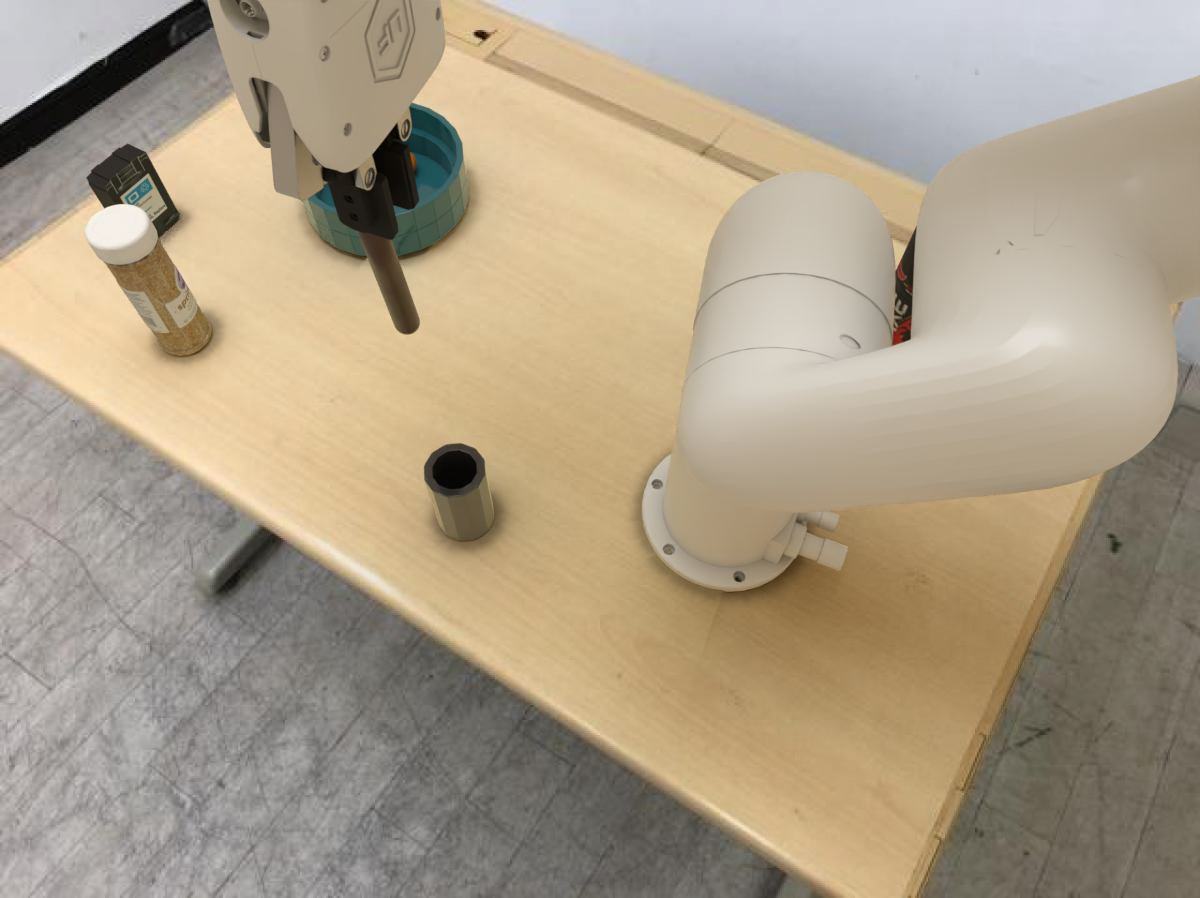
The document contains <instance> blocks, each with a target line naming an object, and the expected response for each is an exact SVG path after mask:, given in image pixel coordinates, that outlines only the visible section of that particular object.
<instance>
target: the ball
mask: <svg viewBox="0 0 1200 898" xmlns="http://www.w3.org/2000/svg"><path fill="white" fill-rule="evenodd" d="M410 155H411V160H412V165H413V170H414V171H415V170H416V167H417V161H416V158H415V156H414V155H413V154H412V153H411V152H410Z"/></svg>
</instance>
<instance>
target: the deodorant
mask: <svg viewBox="0 0 1200 898" xmlns="http://www.w3.org/2000/svg"><path fill="white" fill-rule="evenodd" d="M916 229H917V225H916V226H915V228H914V230H913V232H912V235H911V237H910V238H909V241H908V243H907V245H906V247H905V249H904V251H903V254H902V256H901V258H900V261H899V263H898V265H897V266H896V268H895V278H896V284H895V305H894V322H893V344H892V346H894V345H897V344H900V343H903V342H906V341H908V340H911V324H912V302H913V278H914V255H915V239H916Z"/></svg>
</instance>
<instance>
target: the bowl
mask: <svg viewBox="0 0 1200 898" xmlns="http://www.w3.org/2000/svg"><path fill="white" fill-rule="evenodd" d="M409 109H410V115H411V121H412V129H411V133H410V136H409V138H408V139H407V140H406V141H403V144H406V145H409V150H410V152H411V153H412V154H413V155H414V156H415V158H416V161H417V167H416V170H415V171H414V175H415V180H416V185H417V190H418V195H419V202H418V204H417V205H416V207H415V208H414V209H410V210H407V209H403V208H400V207H397V206H394V205H393V206H394V211H395V215H396V219H397V224H398V230H399V231H398V233H397V235H396V236H395V238H394V239H393V240H392V242H393V245H394V248H395V251H396V254H397V256H398V257H400V256H404V255H407V254H412V253H415V252H418V251H421V250H423V249H426V248H427V247H430V246H432V245H433V244H435V243H438V242H439V241H440V240H442V239H443V238H444V237H446V236H447V235H448V234H449V233H451V231H453V230H454V229H455V228H456V226H457V225H458V223H459V222H460V221H461V219H462V218H463V216H464V214H465V213H466V211H467V210H466V209H467V206H468V203H469V199H470V193H469V192H470V190H469V179H468V173H467V166H466V159H465V152H464V145H463V141H462V139H461V137H460V134H459V133H458V130H457V129H456V128H455V126H454V125H452V123H450V121H449V120H448V119H447V118H446V117H445V116H444V115H442V114H440V113H438V112H437V111H435V110H433V109H432V108H430V107H427V106H424V105H422V104H417V103H415V102H412V103H411V104H410V106H409ZM302 204H303V207H304V209H305V212H306V215H307V218H308V220H309V223H310V225H311V227H312V228H313V229H314V231H315V232H316V233H317V234H318V236H319V237H320V238H321V239H322V240H324V241H325V242H327V243H328V244H330V245H331V246H333V247H334V248H335V249H337V250H340V251H344V252H347V253H349V254H353V255H356V256H359V257H360V256H361V257H367V255H366V253H365V250H364V248H363V245H362V243H361V240H360V238H359V235H358V233H357V231H356V230H353V229H351V228H350V227H348V226H346V225H344V224H343V223H341V221H340V220H339V217H338V214H337V211H336V208H335V204H334V201H333V198H332V195H331V192H330V188H329V185H328V183H327V184H325V185H324V188H323V189H322V190H320V191H319V192H317V193H315V194H314V195H312V196H311V197H309V198H308V199H306V200H304V201H302Z"/></svg>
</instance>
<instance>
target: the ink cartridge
mask: <svg viewBox="0 0 1200 898" xmlns="http://www.w3.org/2000/svg"><path fill="white" fill-rule="evenodd" d="M85 179H86V180H87V182H88V185H89V187H90V189H91V191H92V192H93V193H94V195H95V196H96V198H97V199H98V201H99V202H100V204H101V206H102V208H103V209H104V208H106V207H109V206H113V205H118V204H129V205H134V206H137V207H139V208H141V209H142V210H143V211H145V212H146V214H147V215H148V217H149V218H150V220H151V221H152V223H153V225H154V227H155V228H156V230H157V234H158V239H160V237H161V236H162V235H163V234H164V233H166V232H167V231H168V230H169V229H170V228H172V226H173V225H175V224H176V223H177V222H178V220H179V219H180V214H181V213H180V211H179V210H178V209H177V206H176V205H175V203H174V201H173V200H172V198H171V195H170V194H169V192H168V190H167V188H166V186H165V184H164V182H163V181H162V179H161V177H160V175H159V173H158V171H157V169H156V168H155V166H154V164H153V162H152V160H151V158H150V157H149V154H148V153H147V151H145V150H143V149H140V148H138V147H136V146H134V145H132V144H130V143H126V144H124V145H123V146H122V147H120V146H119V147H118V148H117V149H115V150H113V151H112V152H111V154H110V155H109V156H107V157H106V158H105V159H104V160H102V162H100V163H99V164H97V165H95V166H94V167H93V168H92V169H91V170H90V172H89V174H88V175H87V176H86V177H85Z"/></svg>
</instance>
